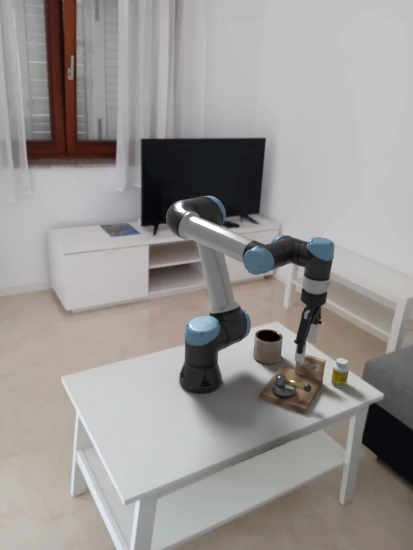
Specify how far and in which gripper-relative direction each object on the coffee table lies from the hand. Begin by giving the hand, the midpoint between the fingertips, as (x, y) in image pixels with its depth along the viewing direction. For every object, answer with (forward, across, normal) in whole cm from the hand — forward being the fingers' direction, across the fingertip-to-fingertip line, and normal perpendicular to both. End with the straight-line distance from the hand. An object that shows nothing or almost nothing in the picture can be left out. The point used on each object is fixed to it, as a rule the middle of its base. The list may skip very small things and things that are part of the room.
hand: (305, 351), depth 149 cm
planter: (+22, +25, +20) cm, 39 cm away
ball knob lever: (+20, +3, +3) cm, 20 cm away
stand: (+22, +8, +4) cm, 24 cm away
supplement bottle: (+22, +21, -9) cm, 31 cm away
